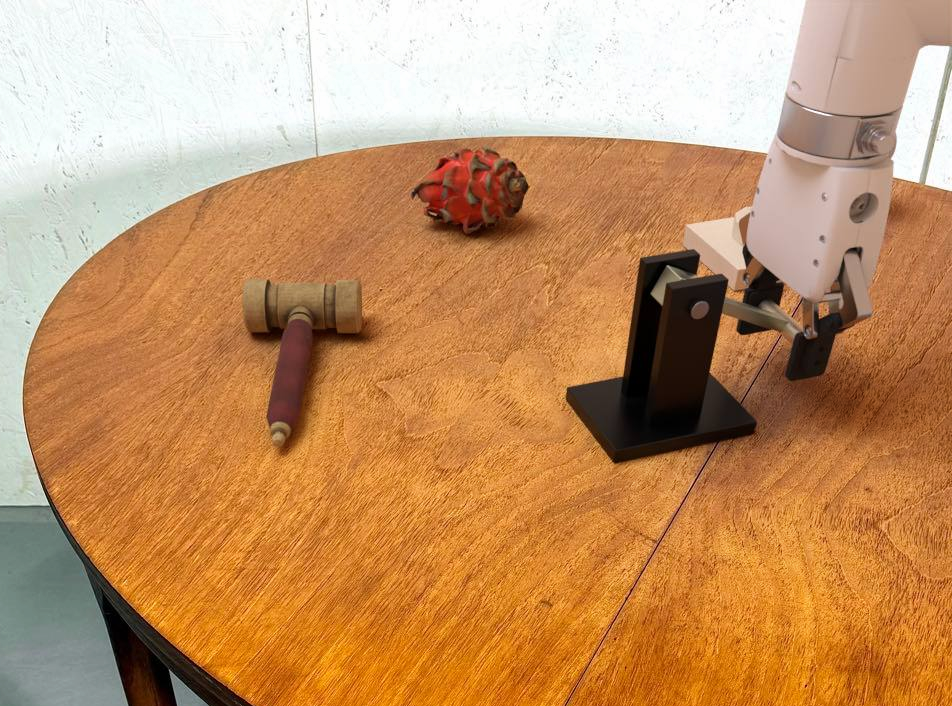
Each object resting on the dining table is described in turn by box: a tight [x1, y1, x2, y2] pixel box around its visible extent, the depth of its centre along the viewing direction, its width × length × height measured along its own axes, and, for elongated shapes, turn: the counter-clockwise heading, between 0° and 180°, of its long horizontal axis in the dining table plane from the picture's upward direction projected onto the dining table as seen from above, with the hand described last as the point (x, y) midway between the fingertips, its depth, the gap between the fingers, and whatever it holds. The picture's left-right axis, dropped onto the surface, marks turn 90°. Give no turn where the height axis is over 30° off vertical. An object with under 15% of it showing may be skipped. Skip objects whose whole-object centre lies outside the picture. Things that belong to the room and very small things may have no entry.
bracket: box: [565, 249, 758, 464], centre depth 80 cm, size 12×9×13 cm
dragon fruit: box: [410, 146, 531, 235], centre depth 108 cm, size 8×8×12 cm
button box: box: [682, 205, 784, 292], centre depth 103 cm, size 12×10×4 cm
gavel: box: [242, 278, 363, 448], centre depth 87 cm, size 21×5×10 cm
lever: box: [651, 265, 803, 345], centre depth 79 cm, size 13×6×2 cm, turn 108°
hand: (778, 351), depth 84 cm, fingers open, 6 cm apart
